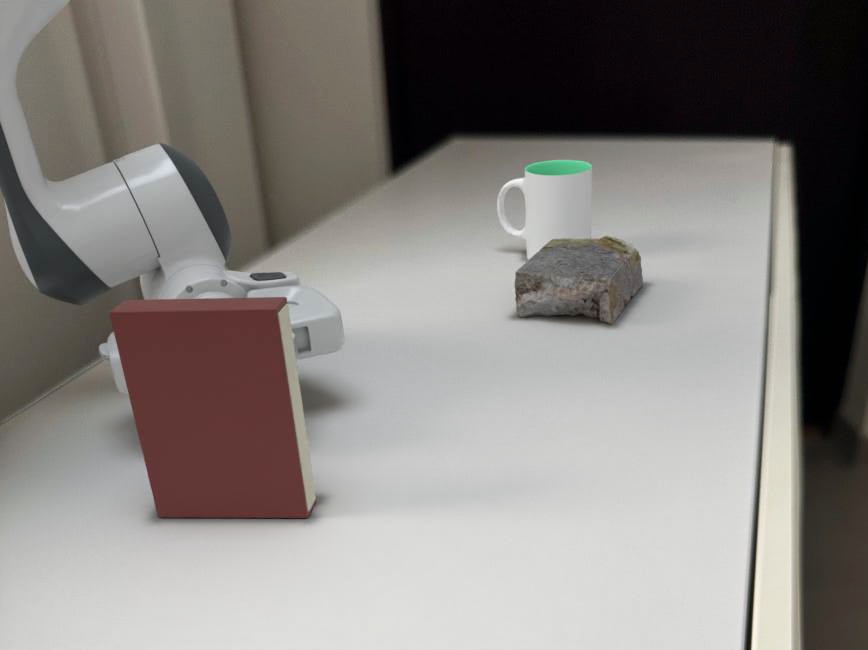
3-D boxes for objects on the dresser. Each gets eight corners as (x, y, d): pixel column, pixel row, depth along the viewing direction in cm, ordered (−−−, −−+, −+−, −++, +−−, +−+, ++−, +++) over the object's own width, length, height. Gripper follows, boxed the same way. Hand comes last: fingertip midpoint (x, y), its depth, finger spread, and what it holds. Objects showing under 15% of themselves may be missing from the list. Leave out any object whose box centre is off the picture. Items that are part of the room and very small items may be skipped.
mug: (488, 262, 132) (484, 173, 126) (508, 244, 138) (505, 158, 132) (581, 267, 128) (582, 176, 122) (597, 248, 134) (599, 160, 128)
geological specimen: (510, 274, 111) (555, 227, 122) (515, 330, 115) (557, 280, 125) (608, 278, 107) (645, 230, 118) (610, 335, 111) (645, 283, 122)
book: (157, 517, 82) (108, 311, 73) (170, 500, 85) (124, 299, 76) (308, 518, 81) (277, 308, 72) (317, 501, 83) (288, 296, 75)
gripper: (85, 309, 92) (110, 361, 81) (310, 268, 98) (359, 311, 88) (104, 378, 95) (130, 436, 85) (320, 334, 102) (368, 383, 91)
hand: (248, 372), depth 86 cm, fingers closed on candle, 5 cm apart
